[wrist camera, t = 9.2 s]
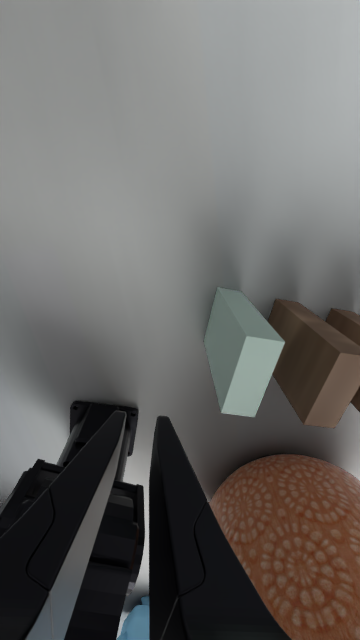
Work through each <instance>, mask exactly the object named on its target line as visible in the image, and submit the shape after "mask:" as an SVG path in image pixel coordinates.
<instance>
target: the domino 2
mask: <svg viewBox="0 0 360 640" xmlns="http://www.w3.org/2000/svg"><path fill="white" fill-rule="evenodd" d="M268 323H269V324H270V325H271V326H272V327H273V329H274V330H275V331H276V332H277V333H278V334H279V336H280V337H281V338H282V339H283V340H284V341H285V344H284V346H283V349H282V351H281V354H280V356H279V359H278V361H277V363H276V366H275V368H274V371H273V373H272V375H273V376H274V378H275V379H276V381H277V383H278V384H279V386H280V387H281V389H282V391H283V392H284V394H285V396H286V397H287V399H288V400H289V402H290V404H291V405H292V407H293V409H294V410H295V412H296V413H297V415H298V417H299V418H300V420H301V422H302V423H303V425H311V426H319V427H327V428H335V427H336V425H337V424H338V422H339V420H340V418H341V417H342V415H343V413H344V412H345V410H346V408H347V407H348V405H349V403H350V401H351V400H352V398H353V396H354V395H355V393H356V391H357V390H358V388H359V386H360V346H359V345H357V344H356V343H354V342H353V341H352V340H350V339H349V338H347V337H346V336H345V335H343V334H342V333H340V332H339V331H338V330H336V329H335V328H333V327H332V326H331V325H329V324H328V323H326V322H325V321H324V320H322V319H321V318H319V317H318V316H317V315H315V314H314V313H312V312H311V311H310V310H308V309H307V308H306V307H304V306H303V305H301V304H300V303H298V302H293V301H287V300H281V299H276V300H275V303H274V305H273V308H272V311H271V314H270V317H269V319H268Z"/></svg>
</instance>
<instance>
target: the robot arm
mask: <svg viewBox="0 0 360 640" xmlns="http://www.w3.org/2000/svg"><path fill="white" fill-rule="evenodd" d="M76 406H77V407H76ZM133 413H135V414H133ZM138 414H139V411H138V409H136V408H131V407H123V406H115V405H106V404H98V403H90V402H81V401H74V402H73V403H72V405H71V407H70V436H69V439H68V441H67V443H66V445H65V447H64V449H63V452H62V454H61V456H60V458H59V460H58V463H57V465H55V464H51V463H47V462H45V460H41V459H38V460H37V461H36V463H35V464H34V466H33V468H29V470H28V471H25V472H23V474H22V476H21V478H20V479H19V481H18V483H17V485H16V486H15V488H14V490H13V491H12V493H11V494H10V496H9V497H8V499H7V500H6V501H5V502H4V504H3V505H2V506H1V508H0V640H116V637H117V632H118V627H119V622H120V617H121V613H122V609H123V605H124V601H125V597H126V596H129V595H130V594H131V592H132V590H133V588H134V586H135V583H136V580H137V577H138V574H139V570H140V566H141V561H142V556H143V549H144V539H145V523H144V491H143V486H142V485H138V484H137V485H133V484H129V483H125V482H123V477H124V471H125V466H126V461H127V456H131V455H132V453H133V446H134V440H135V433H136V427H137V420H138ZM149 640H292V639H291V638H290V637H289V636H288V635H287V634H286V632H285V631H284V630H283V629H282V628H281V627H280V625H279V624H278V623H277V621H276V620H275V619H274V617H273V616H272V614H271V613H270V611H269V610H268V608H267V607H266V605H265V603H264V602H263V600H262V599H261V597H260V595H259V593H258V592H257V590H256V588H255V587H254V585H253V583H252V582H251V580H250V578H249V576H248V575H247V573H246V571H245V570H244V568H243V566H242V565H241V563H240V561H239V560H238V558H237V556H236V554H235V553H234V551H233V549H232V547H231V546H230V544H229V542H228V540H227V539H226V537H225V535H224V533H223V531H222V529H221V527H220V525H219V523H218V521H217V519H216V517H215V515H214V513H213V511H212V509H211V507H210V505H209V503H208V502H207V498H206V496H205V494H204V492H203V490H202V488H201V486H200V483H199V481H198V479H197V477H196V475H195V473H194V470H193V468H192V466H191V464H190V462H189V460H188V458H187V455H186V453H185V451H184V449H183V447H182V445H181V443H180V440H179V438H178V436H177V434H176V432H175V430H174V427H173V425H172V423H171V421H170V419H169V417H167V416H158V417H157V422H156V427H155V432H154V440H153V449H152V458H151V467H150V478H149Z"/></svg>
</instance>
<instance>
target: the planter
mask: <svg viewBox="0 0 360 640" xmlns="http://www.w3.org/2000/svg"><path fill="white" fill-rule="evenodd" d="M209 505H210V507H211V509H212V511H213V513H214V515H215V517H216V519H217V521H218V523H219V525H220V527H221V529H222V531H223V533H224V535H225V537H226V539H227V540H228V542H229V544H230V546H231V547H232V549H233V551H234V553H235V554H236V556H237V558H238V560H239V561H240V563H241V565H242V566H243V568H244V570H245V571H246V573H247V575H248V576H249V578H250V580H251V582H252V583H253V585H254V587H255V588H256V590H257V592H258V593H259V595H260V597H261V599H262V600H263V602H264V603H265V605H266V607H267V608H268V610H269V611H270V613H271V614H272V616H273V617H274V619H275V620H276V621H277V623H278V624H279V625H280V627H281V628H282V629H283V630H284V631H285V632H286V634H287V635H288V636H289V637H290V638H291V639H292V640H360V481H359V480H358V479H357V478H356V477H354V476H353V475H351V474H350V473H348V472H347V471H345V470H343V469H342V468H340V467H338V466H336V465H334V464H331V463H329V462H326V461H324V460H321V459H317V458H313V457H309V456H304V455H296V454H279V455H271V456H267V457H263V458H259V459H256V460H254V461H251V462H249V463H247V464H245V465H243V466H242V467H240V468H239V469H237V470H236V471H234V472H233V473H232V474H231V475H230V476H229V477H228V478H227V479H226V480H225V481H224V482H223V483H222V484H221V485H220V486H219V488H218V489H217V491H216V492H215V494H214V495H213V497H212V499H211V501H210V503H209Z"/></svg>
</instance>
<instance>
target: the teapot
mask: <svg viewBox="0 0 360 640" xmlns="http://www.w3.org/2000/svg"><path fill="white" fill-rule="evenodd" d="M141 601H142V605H136V606H135V607H134V608H133V610H132V611H131V612H130V614H129V615H128V616H127V618H126V619H125V621H124V623H123V627H122V631H121V635H120V636H119V637H118V638H117V639H116V640H149V596H144V597H142V598H141Z"/></svg>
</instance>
